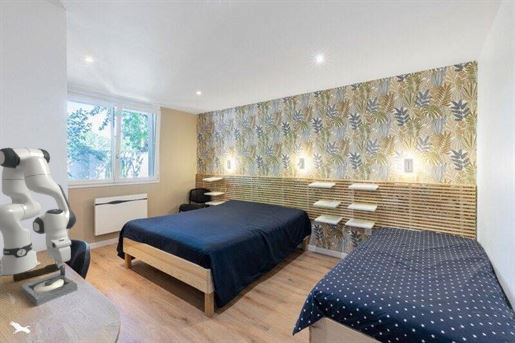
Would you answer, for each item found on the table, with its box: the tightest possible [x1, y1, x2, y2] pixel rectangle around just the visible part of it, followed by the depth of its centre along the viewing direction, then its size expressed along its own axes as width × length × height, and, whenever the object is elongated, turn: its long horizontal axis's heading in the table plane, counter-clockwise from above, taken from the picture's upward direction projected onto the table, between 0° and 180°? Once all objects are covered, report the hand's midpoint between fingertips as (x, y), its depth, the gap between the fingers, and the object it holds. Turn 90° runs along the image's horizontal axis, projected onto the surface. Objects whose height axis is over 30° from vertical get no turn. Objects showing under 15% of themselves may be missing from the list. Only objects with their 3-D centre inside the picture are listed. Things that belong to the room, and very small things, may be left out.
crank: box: [34, 264, 66, 295], centre depth 120 cm, size 11×14×8 cm
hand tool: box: [12, 263, 60, 283], centre depth 134 cm, size 19×4×5 cm, turn 131°
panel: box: [20, 272, 78, 307], centre depth 119 cm, size 22×16×3 cm
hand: (59, 266), depth 128 cm, fingers closed
